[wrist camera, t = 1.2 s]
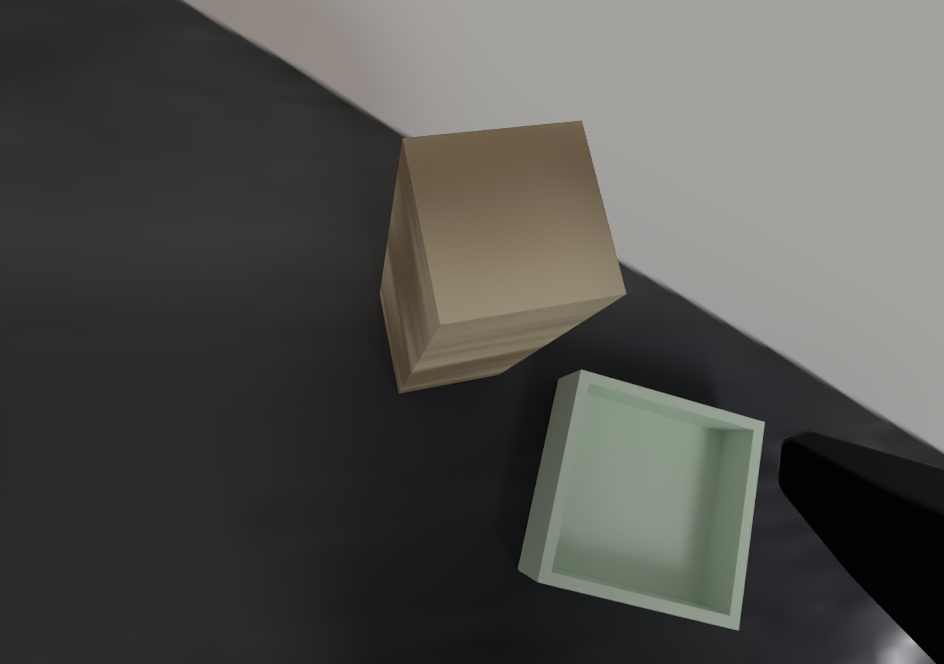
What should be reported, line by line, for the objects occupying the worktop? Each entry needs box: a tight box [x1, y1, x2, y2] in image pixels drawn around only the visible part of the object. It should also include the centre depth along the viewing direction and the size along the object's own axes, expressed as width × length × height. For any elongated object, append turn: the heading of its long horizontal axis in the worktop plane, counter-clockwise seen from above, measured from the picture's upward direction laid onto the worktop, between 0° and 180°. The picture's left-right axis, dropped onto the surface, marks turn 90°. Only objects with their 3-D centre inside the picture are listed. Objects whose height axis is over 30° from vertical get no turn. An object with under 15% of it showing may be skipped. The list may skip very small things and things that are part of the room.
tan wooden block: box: [380, 121, 626, 394], centre depth 19 cm, size 4×4×12 cm
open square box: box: [518, 370, 765, 631], centre depth 23 cm, size 7×7×3 cm
